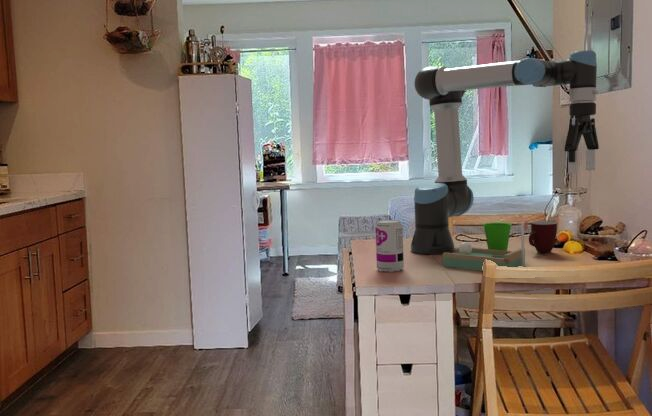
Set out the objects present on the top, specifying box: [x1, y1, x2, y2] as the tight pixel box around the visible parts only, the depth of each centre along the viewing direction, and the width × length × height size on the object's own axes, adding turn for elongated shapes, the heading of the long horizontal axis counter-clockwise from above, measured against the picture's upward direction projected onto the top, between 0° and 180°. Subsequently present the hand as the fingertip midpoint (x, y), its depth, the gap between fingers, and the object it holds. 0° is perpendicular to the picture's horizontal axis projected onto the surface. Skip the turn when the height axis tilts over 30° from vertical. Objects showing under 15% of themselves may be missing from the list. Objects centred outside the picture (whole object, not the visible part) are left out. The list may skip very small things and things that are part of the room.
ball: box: [458, 241, 473, 255], centre depth 184 cm, size 4×4×4 cm
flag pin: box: [520, 221, 528, 267], centre depth 174 cm, size 2×4×14 cm, turn 139°
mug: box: [528, 220, 558, 255], centre depth 196 cm, size 10×8×10 cm
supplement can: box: [374, 219, 405, 273], centre depth 181 cm, size 8×8×15 cm
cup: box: [482, 221, 512, 251], centre depth 192 cm, size 9×9×11 cm
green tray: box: [442, 247, 526, 272], centre depth 180 cm, size 21×12×5 cm, turn 49°
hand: (581, 171), depth 184 cm, fingers open, 13 cm apart
